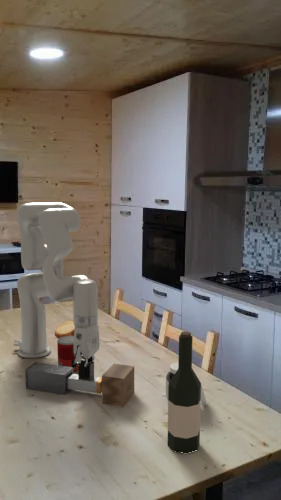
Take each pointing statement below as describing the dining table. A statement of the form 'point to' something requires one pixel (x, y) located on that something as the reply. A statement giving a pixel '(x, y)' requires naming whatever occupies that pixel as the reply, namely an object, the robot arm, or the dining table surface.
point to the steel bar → (85, 381)
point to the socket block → (118, 385)
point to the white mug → (170, 375)
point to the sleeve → (47, 377)
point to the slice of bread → (65, 329)
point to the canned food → (66, 352)
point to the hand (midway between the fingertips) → (86, 374)
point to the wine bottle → (184, 401)
